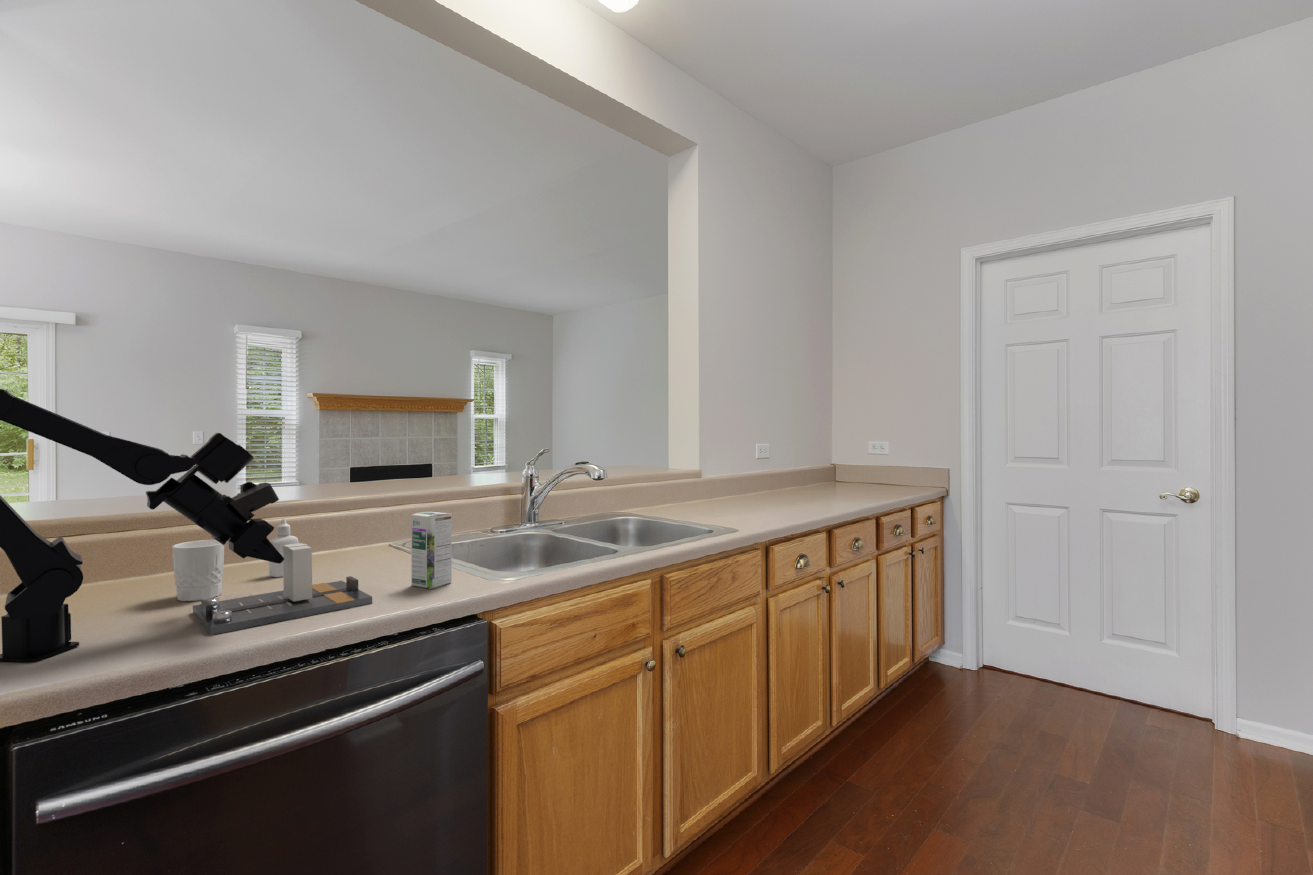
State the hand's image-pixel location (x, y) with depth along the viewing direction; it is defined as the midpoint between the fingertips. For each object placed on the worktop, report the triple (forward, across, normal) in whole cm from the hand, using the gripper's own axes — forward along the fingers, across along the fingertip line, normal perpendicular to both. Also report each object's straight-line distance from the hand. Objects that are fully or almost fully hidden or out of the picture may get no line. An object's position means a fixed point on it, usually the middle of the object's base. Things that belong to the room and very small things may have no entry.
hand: (281, 561), depth 109 cm
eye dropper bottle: (+11, +27, +1) cm, 29 cm away
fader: (+6, 0, +3) cm, 7 cm away
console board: (+6, 0, +6) cm, 8 cm away
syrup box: (+24, -3, -12) cm, 27 cm away
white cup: (0, +19, +12) cm, 23 cm away
